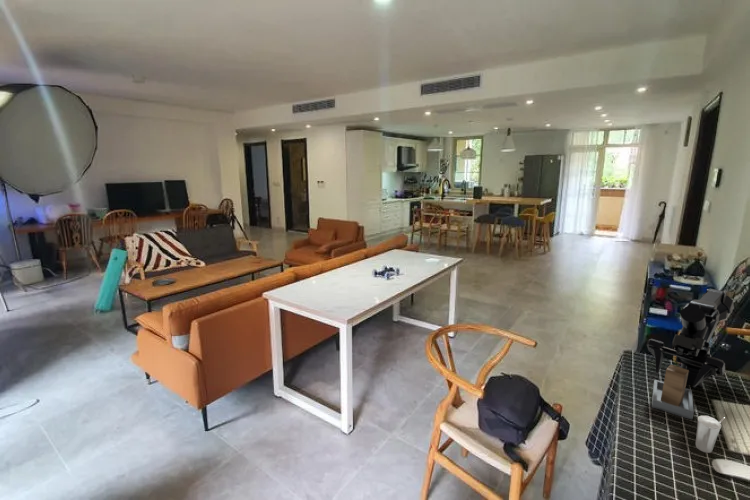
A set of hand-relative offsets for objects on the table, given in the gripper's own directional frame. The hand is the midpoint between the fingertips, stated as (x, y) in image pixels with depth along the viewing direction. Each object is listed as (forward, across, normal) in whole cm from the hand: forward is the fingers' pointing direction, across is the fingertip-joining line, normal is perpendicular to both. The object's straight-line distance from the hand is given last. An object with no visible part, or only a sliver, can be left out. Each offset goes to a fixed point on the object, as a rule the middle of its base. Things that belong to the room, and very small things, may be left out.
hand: (674, 379), depth 113 cm
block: (+5, 0, +7) cm, 8 cm away
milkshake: (+17, +12, -4) cm, 21 cm away
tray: (+5, 0, +7) cm, 9 cm away
